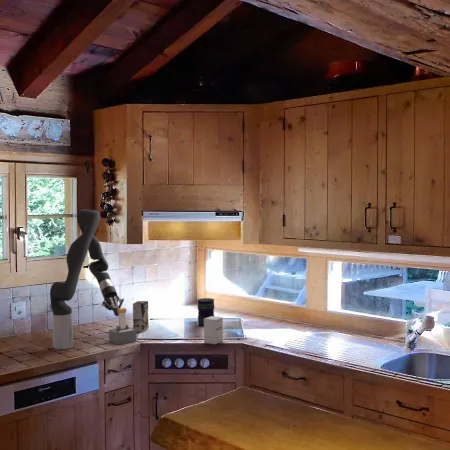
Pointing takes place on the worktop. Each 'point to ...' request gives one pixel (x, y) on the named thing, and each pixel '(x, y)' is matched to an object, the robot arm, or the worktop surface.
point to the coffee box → (140, 316)
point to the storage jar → (205, 310)
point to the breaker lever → (122, 318)
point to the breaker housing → (122, 335)
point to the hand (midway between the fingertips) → (118, 315)
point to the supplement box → (213, 330)
